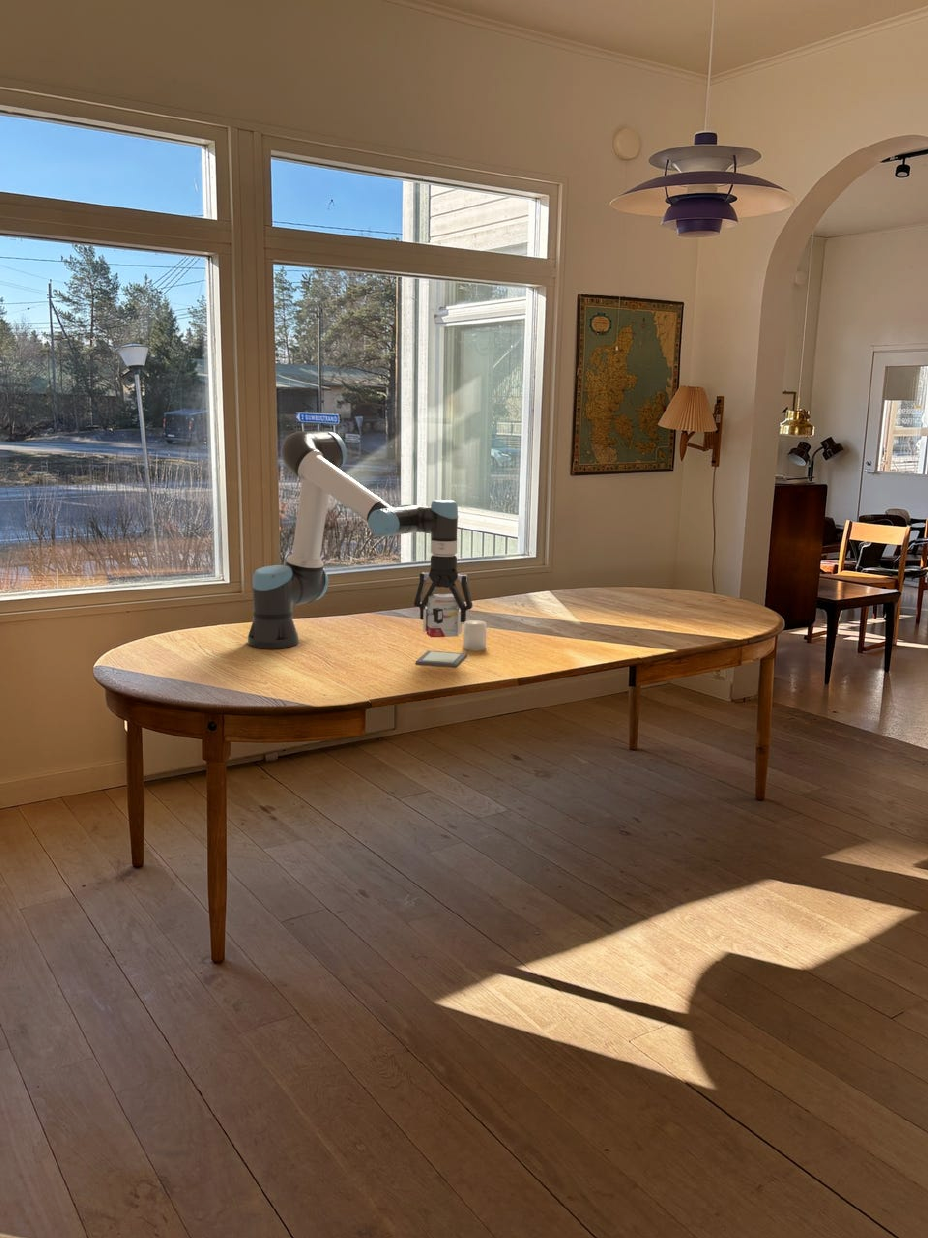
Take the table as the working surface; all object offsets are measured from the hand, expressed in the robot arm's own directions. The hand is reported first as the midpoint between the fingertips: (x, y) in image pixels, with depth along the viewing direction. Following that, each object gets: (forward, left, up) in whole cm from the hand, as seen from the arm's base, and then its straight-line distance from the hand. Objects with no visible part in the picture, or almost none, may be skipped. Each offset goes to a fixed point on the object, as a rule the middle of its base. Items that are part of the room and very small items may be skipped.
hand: (442, 631), depth 292 cm
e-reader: (0, 0, -8) cm, 8 cm away
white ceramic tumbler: (+6, +18, -8) cm, 21 cm away
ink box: (0, 0, -1) cm, 1 cm away
